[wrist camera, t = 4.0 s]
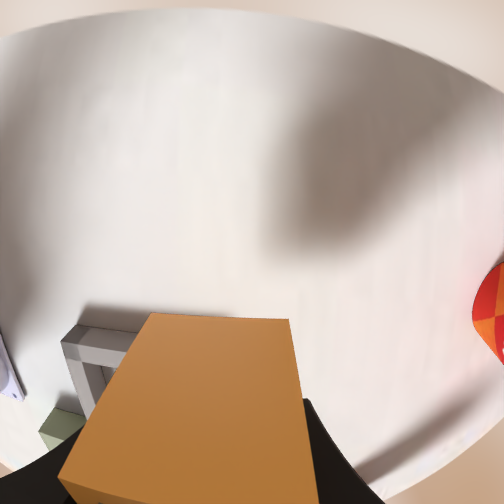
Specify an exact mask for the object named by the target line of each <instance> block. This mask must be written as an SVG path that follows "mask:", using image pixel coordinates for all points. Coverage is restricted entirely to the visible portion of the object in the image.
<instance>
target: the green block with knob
mask: <svg viewBox="0 0 504 504" xmlns="http://www.w3.org/2000/svg"><path fill="white" fill-rule="evenodd" d="M137 335H138V333H132V332H124V331H116V330H108V329H101V328H94V327H87V326H81V325H75V326H74V327H73V328H72V329H71V330H70V331H69V332H68V333H67V334H66V336H65V337H64V338H63V339H62V340H61V341H60V342H61V345H62V349H63V352H64V356H65V359H66V362H67V366H68V369H69V372H70V375H71V378H72V381H73V384H74V387H75V390H76V393H77V395H78V398H79V401H80V403H81V406H82V409H83V411H84V414H85V416H86V417H85V416H81V415H78V414H74V413H70V412H67V411H64V410H60V409H57V408H54V409H53V410H52V412H51V413H50V415H49V416H48V417H47V419H46V420H45V422H44V423H43V425H42V426H41V428H40V429H39V431H38V432H39V434H40V436H41V437H42V439H43V441H44V443H45V444H46V446H47V448H48V450H49V451H51V450H52V449H54V448H55V447H57V446H58V445H59V444H60V443H62V442H63V441H64V440H66V439H67V438H68V437H70V436H71V435H72V434H73V433H75V432H76V431H77V430H78V429H80V428H81V427H82V426H83V425H84V424H85V423H86V422H87V420H88V419H89V417H90V415H91V413H92V411H93V410H94V408H95V406H96V404H97V402H98V401H99V399H100V397H101V395H102V394H103V392H104V390H105V389H106V383H105V380H104V376H103V372H102V369H101V366H107V367H113V368H118V366H119V365H120V363H121V361H122V360H123V358H124V356H125V355H126V353H127V351H128V350H129V348H130V346H131V345H132V343H133V341H134V340H135V338H136V336H137Z"/></svg>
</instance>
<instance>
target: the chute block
mask: <svg viewBox="0 0 504 504" xmlns="http://www.w3.org/2000/svg"><path fill="white" fill-rule="evenodd" d="M58 479H59V480H60V482H61V483H62V484H63V486H64V487H65V488H66V490H67V491H68V492H69V494H70V495H71V496H72V498H73V499H74V500H75V501H76V503H77V504H319V500H318V493H317V487H316V480H315V473H314V467H313V460H312V454H311V447H310V441H309V435H308V429H307V423H306V416H305V410H304V404H303V398H302V392H301V387H300V381H299V375H298V369H297V363H296V358H295V352H294V346H293V341H292V335H291V330H290V324H289V319H266V318H234V317H211V316H193V315H177V314H163V313H151V314H150V315H149V317H148V319H147V320H146V322H145V323H144V325H143V327H142V328H141V330H140V332H139V333H138V335H137V336H136V338H135V340H134V341H133V343H132V345H131V346H130V348H129V350H128V351H127V353H126V355H125V356H124V358H123V360H122V361H121V363H120V365H119V366H118V368H117V370H116V371H115V373H114V375H113V376H112V378H111V380H110V382H109V383H108V385H107V387H106V389H105V390H104V392H103V394H102V395H101V397H100V399H99V401H98V402H97V404H96V406H95V408H94V410H93V411H92V413H91V415H90V417H89V419H88V420H87V422H86V424H85V426H84V428H83V429H82V431H81V433H80V435H79V437H78V439H77V440H76V442H75V444H74V446H73V448H72V450H71V452H70V454H69V456H68V457H67V459H66V461H65V463H64V465H63V467H62V469H61V471H60V473H59V475H58Z"/></svg>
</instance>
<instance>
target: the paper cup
mask: <svg viewBox="0 0 504 504" xmlns="http://www.w3.org/2000/svg"><path fill="white" fill-rule="evenodd" d="M472 320H473V325H474V327H475V329H476V331H477V332H478V333H479V335H480V336H481V337H482V339H483V340H484V341H485V342H486V344H487V345H488V346H489V347H490V349H491V350H492V351H493V352H494V353H495V355H496V356H497V357H498V358H499V360H500V361H501V362H502V363H503V365H504V262H502V263H500V264H499V265H497V266H496V267H495V268H494V269H493V270H492V271H491V272H490V273H489V274H488V275H487V276H486V278H485V279H484V281H483V282H482V284H481V286H480V288H479V290H478V292H477V294H476V297H475V300H474V304H473V310H472Z"/></svg>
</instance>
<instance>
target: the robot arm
mask: <svg viewBox="0 0 504 504" xmlns="http://www.w3.org/2000/svg"><path fill="white" fill-rule="evenodd" d="M0 394H4V395H6V396H9V397H11V398H14V399H16V400H19V401H24V399H25V396H24V394H23V391H22V389H21V387H20V385H19V382H18V380H17V377H16V375H15V373H14V370H13V367H12V365H11V362H10V360H9V357H8V354H7V352H6V349H5V346H4V343H3V340H2V337H1V334H0ZM303 404H304V410H305V416H306V423H307V429H308V435H309V441H310V447H311V454H312V460H313V467H314V473H315V480H316V487H317V493H318V500H319V504H385V503H384V502H383V501H382V500H381V499H380V498H379V497H378V496H377V495H376V494H375V493H374V492H373V491H372V490H371V489H370V487H369V486H368V485H367V484H366V483H365V482H364V481H363V480H362V479H361V477H360V476H359V475H358V474H357V473H356V471H355V470H354V469H353V468H352V466H351V465H350V464H349V462H348V461H347V460H346V459H345V457H344V456H343V454H342V453H341V452H340V450H339V449H338V447H337V446H336V444H335V443H334V441H333V440H332V438H331V437H330V435H329V434H328V432H327V431H326V429H325V427H324V426H323V424H322V422H321V421H320V419H319V417H318V415H317V413H316V411H315V410H314V408H313V406H312V404H311V401H310V400H308V399H307V398H305V399H303ZM85 424H86V423H85ZM85 424H84V425H83V426H82V427H81V428H80V429H78V430H77V431H76V432H75V433H73V434H72V435H71V436H70V437H68V438H67V439H66V440H64V441H63V442H62V443H60V444H59V445H58V446H57V447H55V448H54V449H52V450H51V451H49V452H48V453H47V454H45V455H43V456H42V457H40V458H39V459H37V460H35V461H34V462H32V463H30V464H29V465H27V466H25V467H23V468H21V469H19V470H17V471H15V472H13V473H11V474H8V475H6V476H4V477H2V478H0V504H77V503H76V501H75V500H74V499H73V498H72V496H71V495H70V494H69V492H68V491H67V490H66V488H65V487H64V486H63V484H62V483H61V482H60V480H59V479H58V475H59V473H60V471H61V469H62V467H63V465H64V463H65V461H66V459H67V457H68V456H69V454H70V452H71V450H72V448H73V446H74V444H75V442H76V440H77V439H78V437H79V435H80V433H81V431H82V429H83V428H84V426H85Z"/></svg>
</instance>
